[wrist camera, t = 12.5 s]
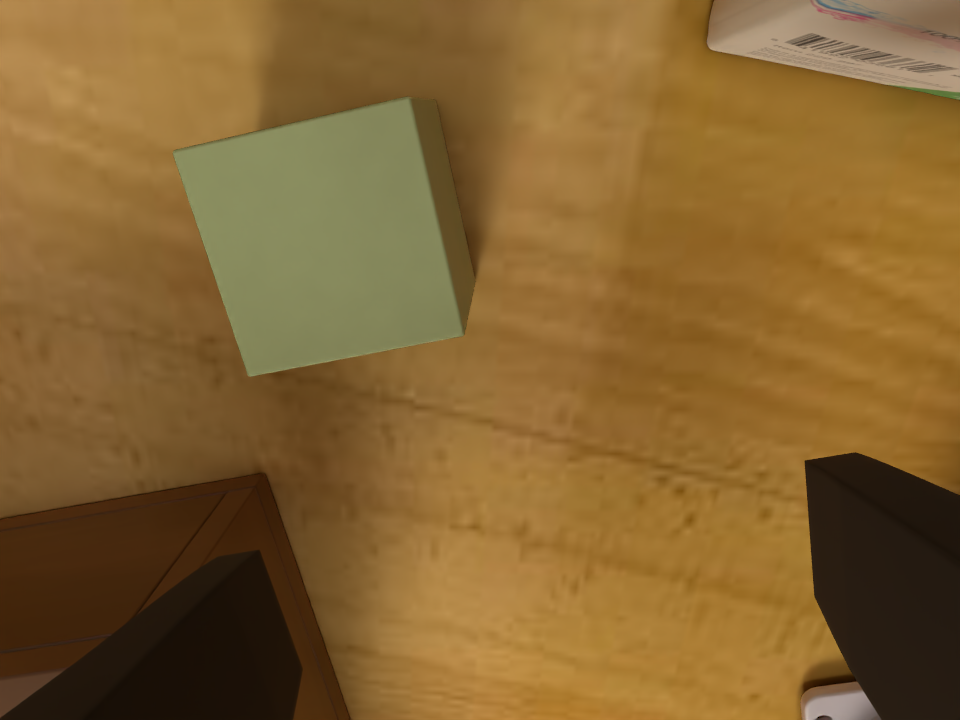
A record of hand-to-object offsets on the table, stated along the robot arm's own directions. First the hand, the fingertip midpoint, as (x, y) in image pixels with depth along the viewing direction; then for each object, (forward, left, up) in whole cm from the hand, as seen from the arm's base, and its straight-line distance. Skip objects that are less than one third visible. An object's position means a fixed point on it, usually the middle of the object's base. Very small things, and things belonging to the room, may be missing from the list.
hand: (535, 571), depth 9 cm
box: (+4, +3, -9) cm, 11 cm away
